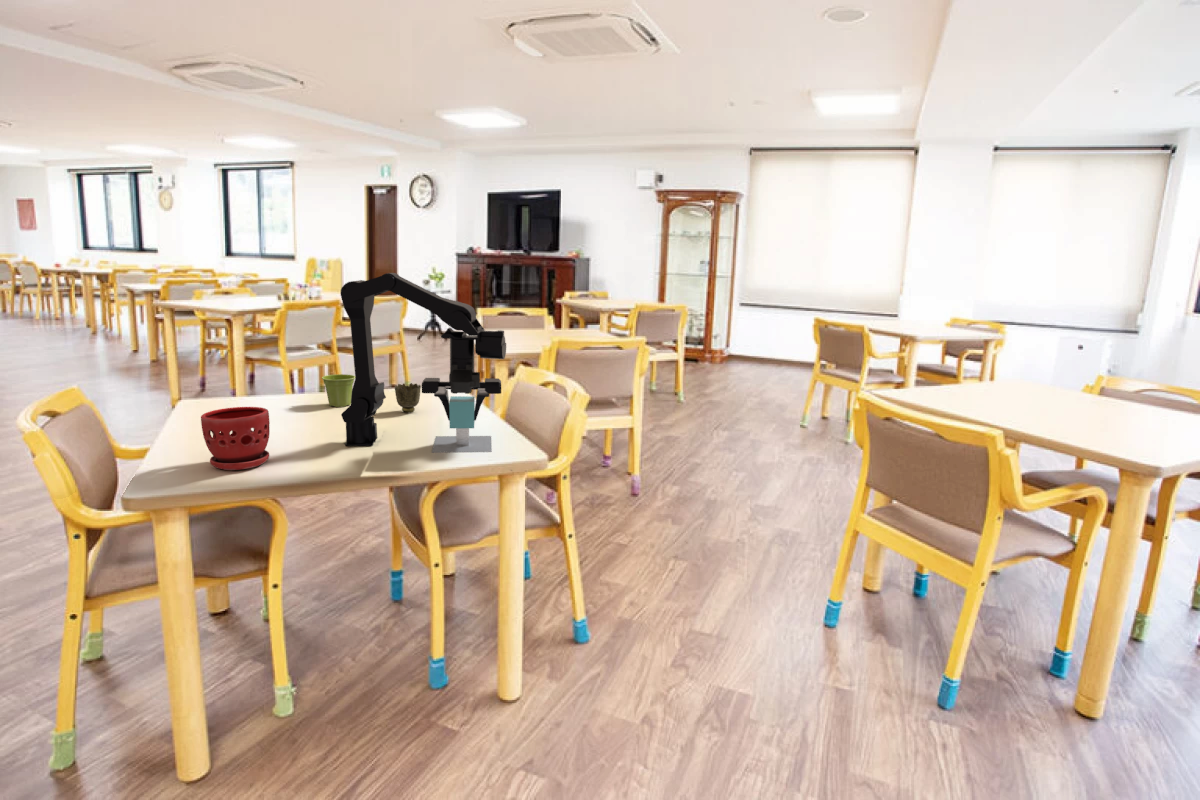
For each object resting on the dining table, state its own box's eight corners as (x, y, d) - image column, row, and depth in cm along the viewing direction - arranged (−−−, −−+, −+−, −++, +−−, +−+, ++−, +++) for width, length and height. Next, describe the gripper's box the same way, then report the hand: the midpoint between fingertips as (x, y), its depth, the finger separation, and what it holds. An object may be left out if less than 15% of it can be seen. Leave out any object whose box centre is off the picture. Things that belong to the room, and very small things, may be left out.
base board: (431, 456, 162) (431, 452, 162) (435, 439, 176) (435, 436, 175) (491, 455, 164) (491, 451, 164) (491, 439, 178) (491, 435, 178)
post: (456, 445, 168) (456, 424, 167) (456, 442, 171) (456, 421, 170) (468, 445, 169) (468, 424, 167) (469, 442, 171) (469, 421, 170)
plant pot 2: (322, 402, 210) (320, 374, 208) (354, 400, 214) (353, 373, 212) (324, 409, 202) (322, 380, 200) (358, 407, 206) (356, 379, 204)
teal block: (449, 428, 165) (449, 401, 164) (450, 422, 171) (450, 396, 170) (474, 428, 166) (474, 401, 165) (474, 422, 172) (474, 396, 170)
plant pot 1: (282, 456, 158) (278, 405, 156) (255, 474, 145) (251, 419, 143) (224, 454, 158) (219, 403, 155) (192, 473, 145) (187, 418, 142)
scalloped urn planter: (394, 415, 198) (394, 388, 197) (395, 409, 205) (394, 383, 203) (421, 414, 200) (421, 387, 199) (421, 408, 207) (420, 382, 205)
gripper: (418, 362, 156) (420, 428, 159) (502, 363, 159) (501, 428, 162) (423, 354, 166) (424, 417, 170) (501, 355, 170) (500, 417, 173)
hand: (462, 420), depth 168 cm, fingers closed on teal block, 6 cm apart
